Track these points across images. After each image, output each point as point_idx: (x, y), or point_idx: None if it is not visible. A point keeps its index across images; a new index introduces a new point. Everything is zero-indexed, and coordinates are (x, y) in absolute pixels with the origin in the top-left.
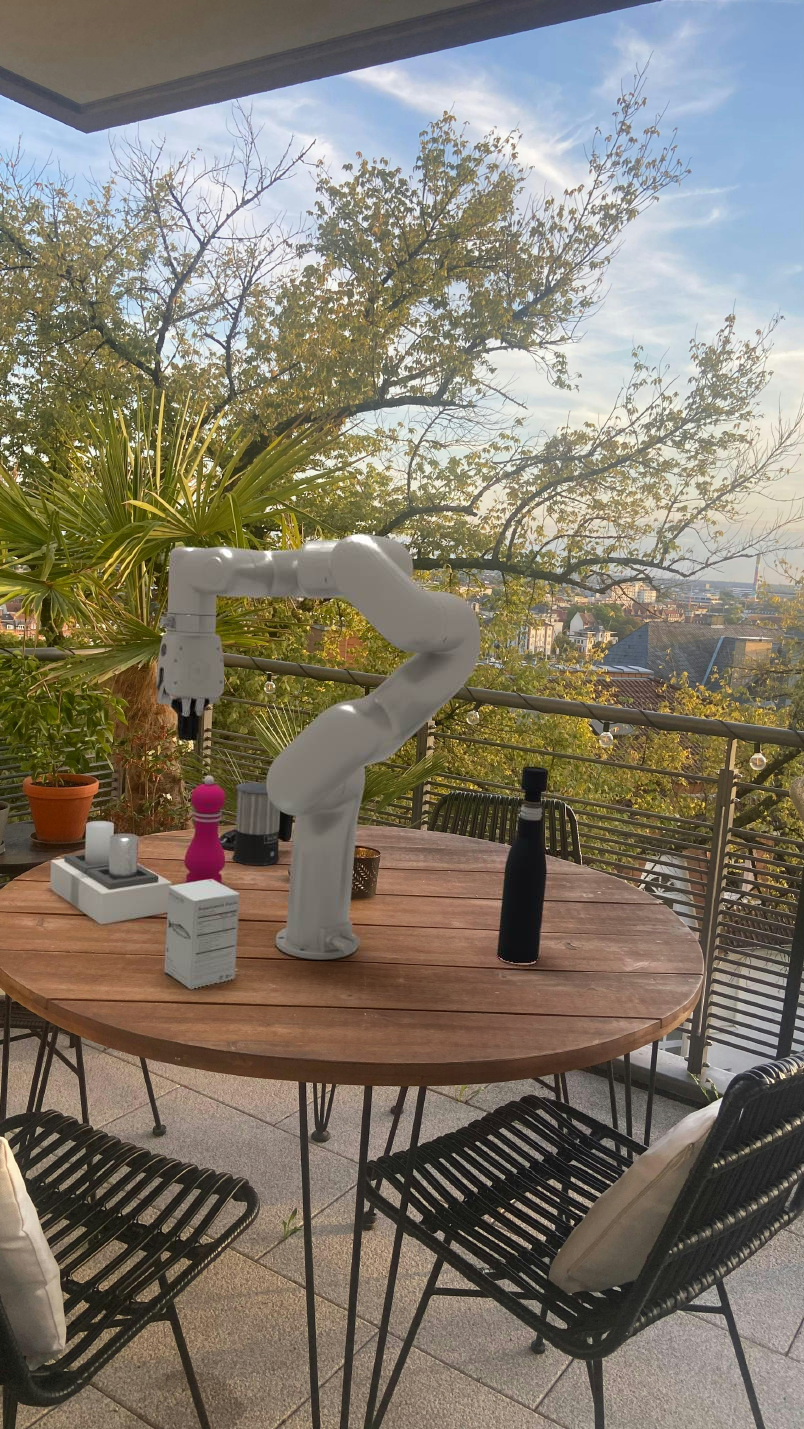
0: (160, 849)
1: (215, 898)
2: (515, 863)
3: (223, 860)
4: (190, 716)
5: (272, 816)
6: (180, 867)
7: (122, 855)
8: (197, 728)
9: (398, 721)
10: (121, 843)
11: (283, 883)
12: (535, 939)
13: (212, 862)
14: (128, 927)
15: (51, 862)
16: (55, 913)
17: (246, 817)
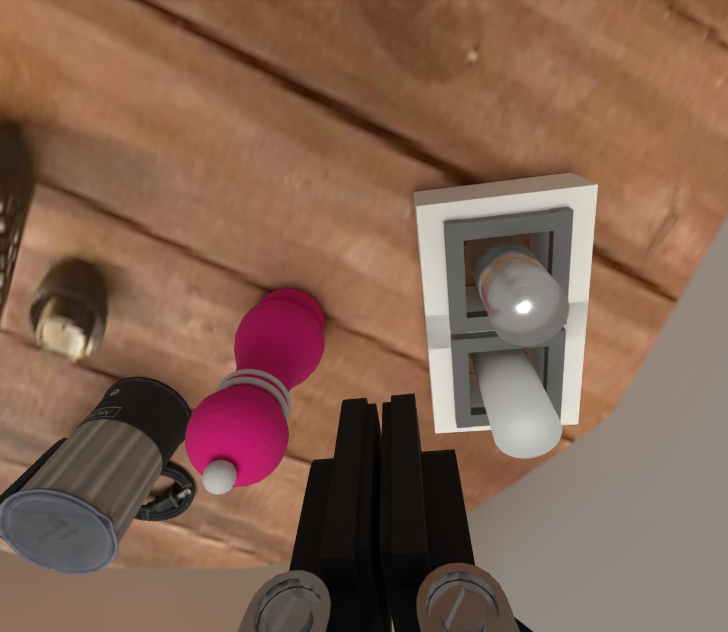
0: (299, 506)
1: None
2: None
3: (245, 317)
4: (410, 555)
5: (69, 447)
6: (298, 417)
7: (539, 266)
8: (334, 458)
9: None
10: (552, 280)
11: (133, 272)
12: None
13: (275, 308)
14: (530, 135)
15: (576, 420)
16: (614, 267)
17: (132, 464)
